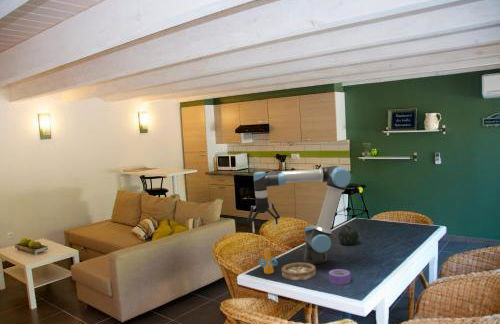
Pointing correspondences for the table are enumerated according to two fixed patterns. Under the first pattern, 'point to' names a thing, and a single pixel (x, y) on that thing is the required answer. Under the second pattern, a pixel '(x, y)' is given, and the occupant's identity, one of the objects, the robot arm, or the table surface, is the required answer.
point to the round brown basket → (298, 271)
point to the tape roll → (339, 276)
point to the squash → (348, 235)
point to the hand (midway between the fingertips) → (264, 231)
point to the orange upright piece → (268, 261)
